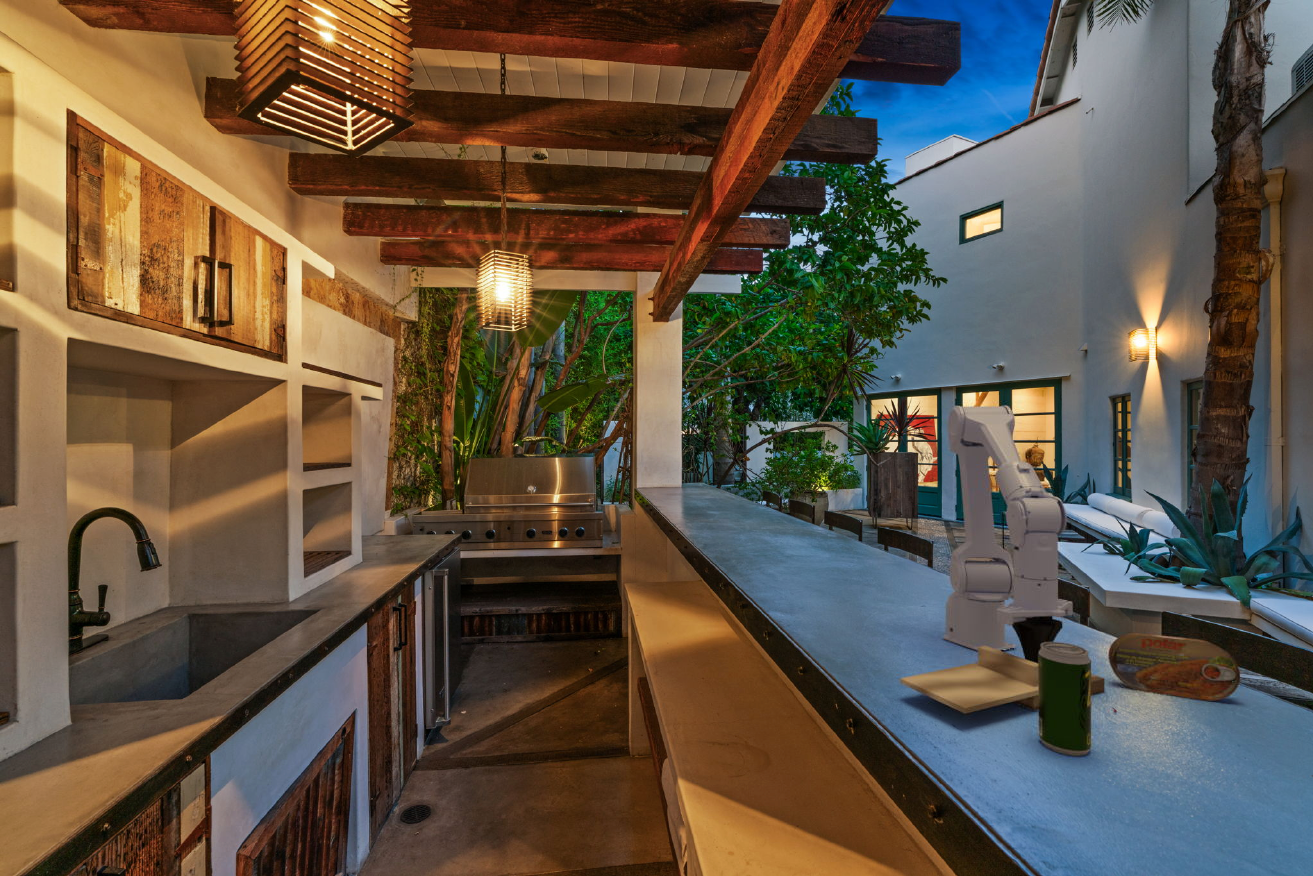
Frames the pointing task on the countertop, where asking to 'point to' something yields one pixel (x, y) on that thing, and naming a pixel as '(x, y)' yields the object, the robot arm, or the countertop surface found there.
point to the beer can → (1064, 698)
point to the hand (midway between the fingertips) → (1035, 666)
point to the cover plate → (980, 681)
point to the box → (1033, 701)
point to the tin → (1174, 666)
